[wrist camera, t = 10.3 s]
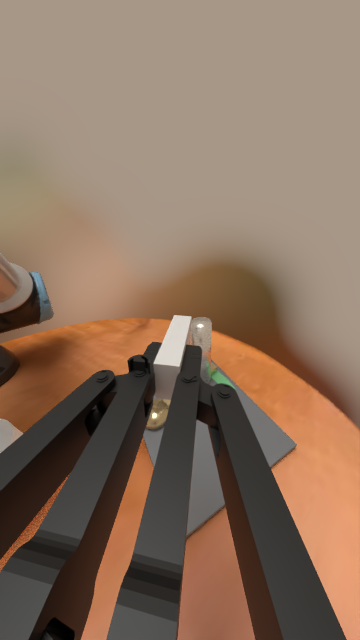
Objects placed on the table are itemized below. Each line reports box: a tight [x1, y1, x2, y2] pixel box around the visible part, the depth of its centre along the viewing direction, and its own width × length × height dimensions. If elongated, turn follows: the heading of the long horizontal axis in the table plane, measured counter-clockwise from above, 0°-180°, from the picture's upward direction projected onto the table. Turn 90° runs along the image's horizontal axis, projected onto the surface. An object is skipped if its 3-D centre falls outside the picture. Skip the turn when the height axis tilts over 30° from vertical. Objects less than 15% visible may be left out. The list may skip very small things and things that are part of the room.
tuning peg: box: [146, 317, 217, 430], centre depth 33 cm, size 18×5×14 cm, turn 131°
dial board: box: [143, 360, 297, 538], centre depth 35 cm, size 26×20×1 cm
